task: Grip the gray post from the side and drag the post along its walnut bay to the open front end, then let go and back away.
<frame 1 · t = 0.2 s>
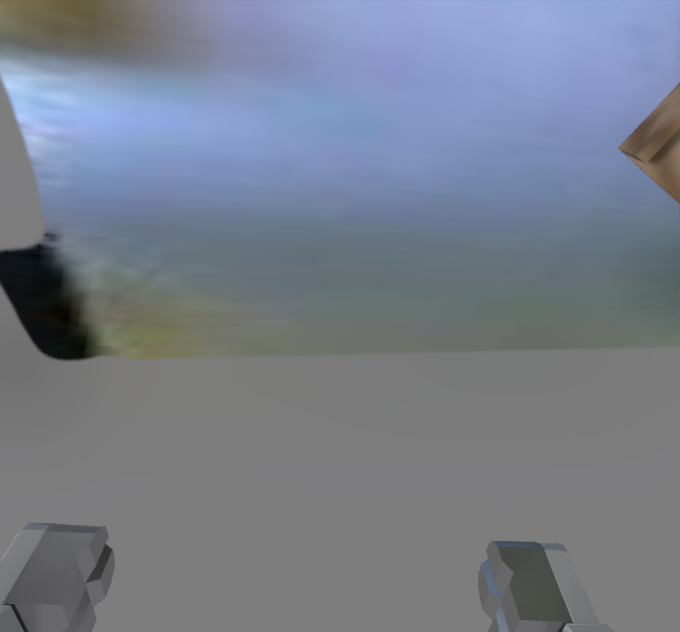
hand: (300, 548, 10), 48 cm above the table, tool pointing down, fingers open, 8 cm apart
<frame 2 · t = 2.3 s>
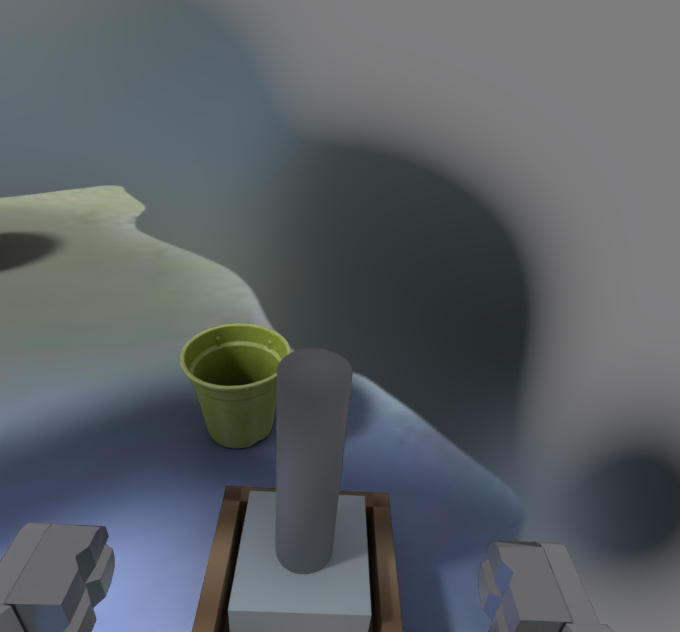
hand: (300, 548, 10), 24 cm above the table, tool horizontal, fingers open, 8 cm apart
gray post: (307, 499, 28), point 10 cm above the table, slide at 0.0 cm
plant pot: (239, 427, 47), on the table
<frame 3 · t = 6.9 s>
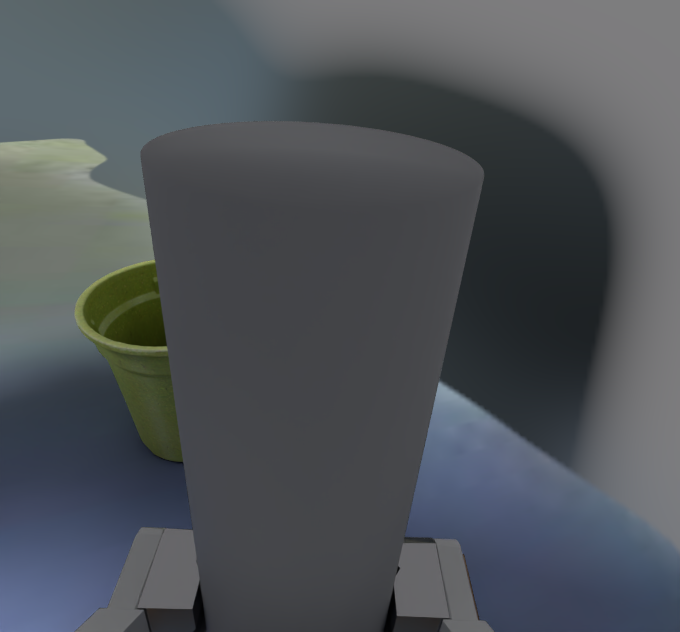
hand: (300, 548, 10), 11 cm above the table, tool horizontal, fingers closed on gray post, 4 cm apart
gray post: (296, 616, 10), point 10 cm above the table, slide at 0.0 cm, touching gripper
plant pot: (195, 426, 29), on the table
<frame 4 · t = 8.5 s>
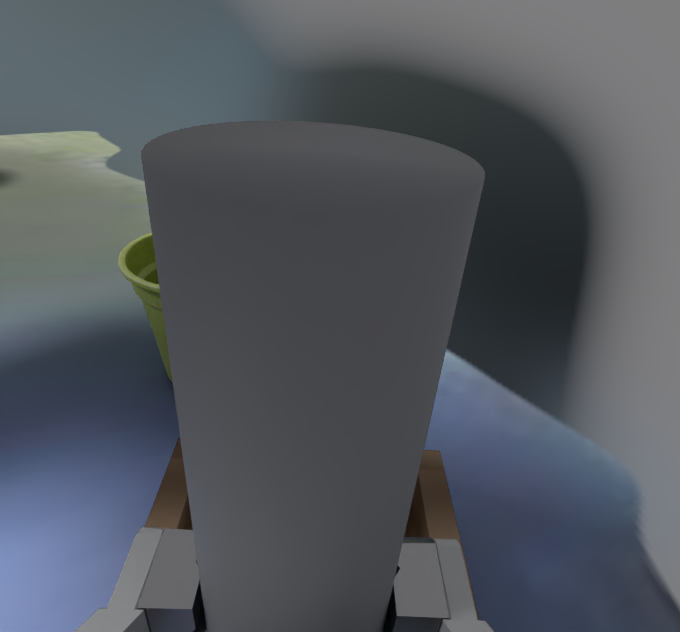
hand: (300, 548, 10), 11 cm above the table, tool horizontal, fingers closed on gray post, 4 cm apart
gray post: (296, 615, 10), point 10 cm above the table, slide at 5.1 cm, touching gripper
plant pot: (214, 371, 33), on the table
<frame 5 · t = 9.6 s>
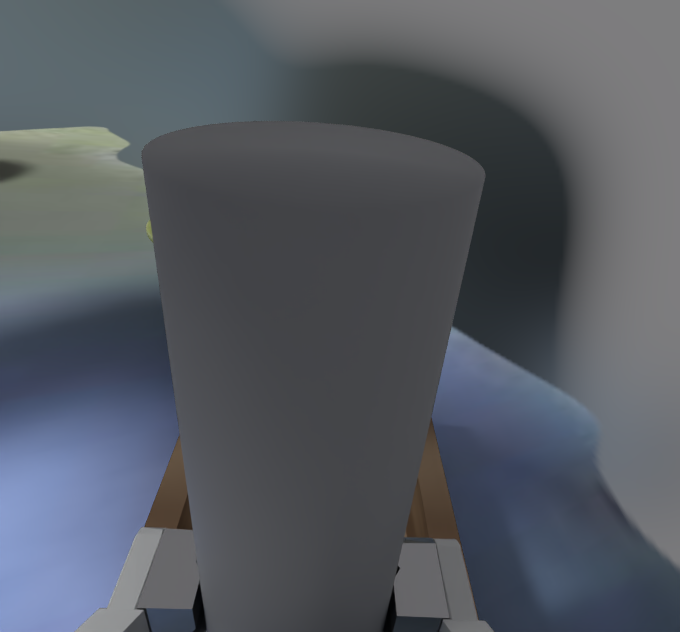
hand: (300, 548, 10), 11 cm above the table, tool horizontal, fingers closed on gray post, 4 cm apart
gray post: (296, 616, 10), point 10 cm above the table, slide at 9.9 cm, touching gripper
bay: (301, 584, 21), on the table
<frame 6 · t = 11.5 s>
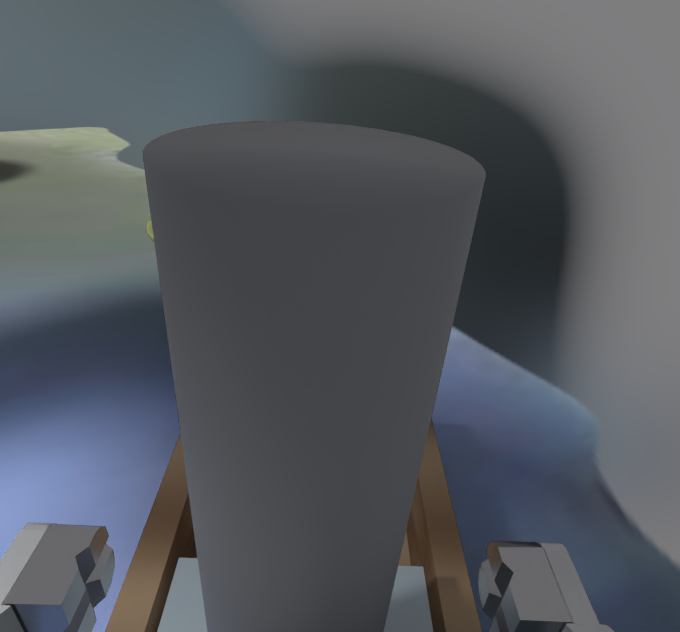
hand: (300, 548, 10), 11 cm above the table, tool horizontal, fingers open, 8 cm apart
gray post: (297, 616, 10), point 10 cm above the table, slide at 10.0 cm
bay: (302, 582, 21), on the table
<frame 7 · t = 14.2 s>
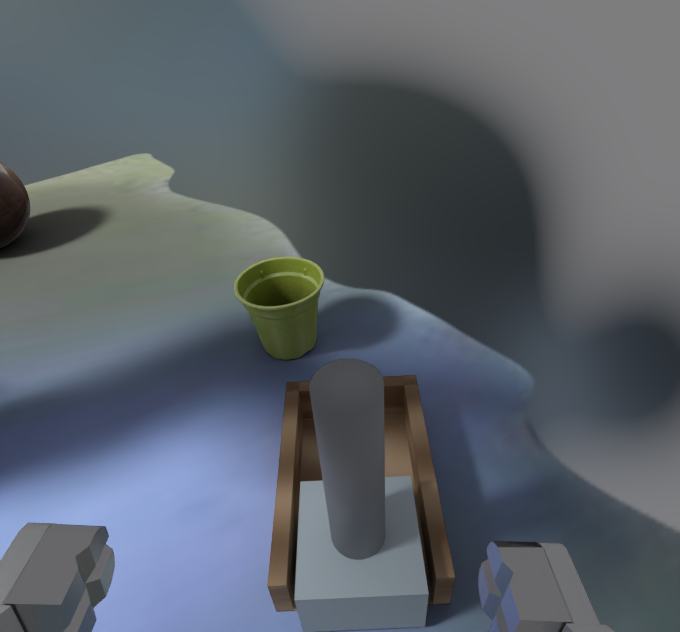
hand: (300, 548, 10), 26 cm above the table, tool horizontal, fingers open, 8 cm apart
gray post: (355, 494, 29), point 10 cm above the table, slide at 10.0 cm
bay: (357, 490, 41), on the table
plant pot: (289, 344, 56), on the table
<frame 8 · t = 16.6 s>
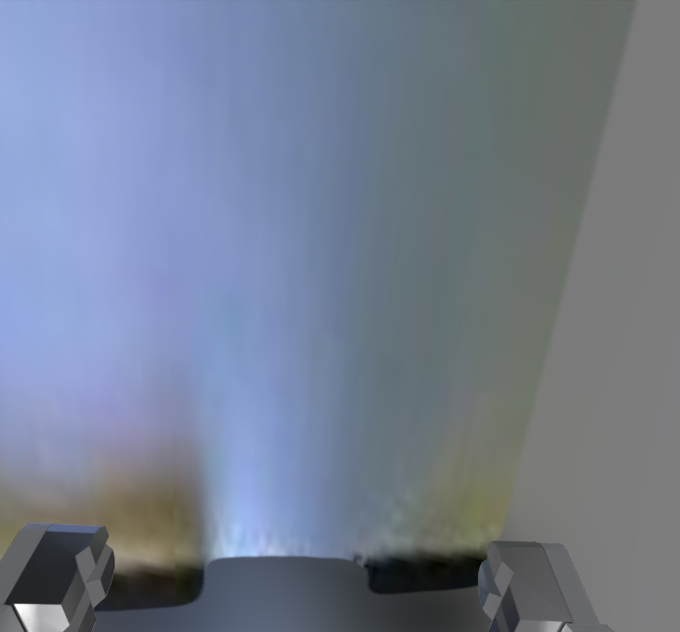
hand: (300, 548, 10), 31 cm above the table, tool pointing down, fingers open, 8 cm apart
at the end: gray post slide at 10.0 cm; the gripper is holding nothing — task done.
